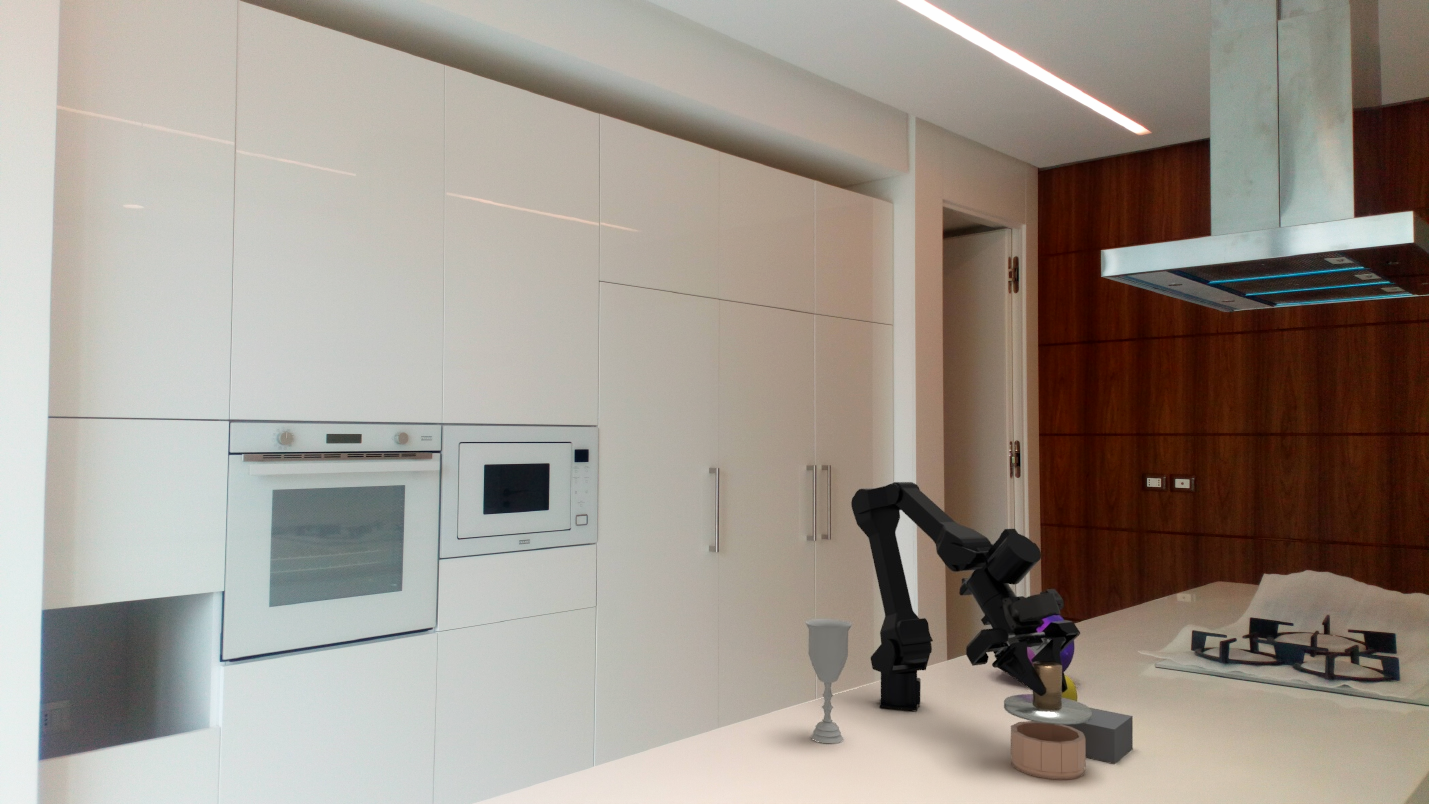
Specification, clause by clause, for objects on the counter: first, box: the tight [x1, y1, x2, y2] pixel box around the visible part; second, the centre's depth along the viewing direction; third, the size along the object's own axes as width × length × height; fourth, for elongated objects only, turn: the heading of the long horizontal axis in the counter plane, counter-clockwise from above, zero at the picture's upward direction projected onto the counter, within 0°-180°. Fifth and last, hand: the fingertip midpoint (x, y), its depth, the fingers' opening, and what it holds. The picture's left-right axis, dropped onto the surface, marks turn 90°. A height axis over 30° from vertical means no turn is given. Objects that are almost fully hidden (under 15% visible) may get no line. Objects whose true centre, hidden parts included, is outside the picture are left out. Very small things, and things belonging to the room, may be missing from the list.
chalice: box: [805, 618, 853, 744], centre depth 143 cm, size 7×7×18 cm
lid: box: [1003, 661, 1092, 725], centre depth 132 cm, size 12×12×7 cm
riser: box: [1066, 706, 1134, 765], centre depth 140 cm, size 9×9×5 cm
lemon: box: [1062, 674, 1078, 702], centre depth 155 cm, size 6×6×8 cm
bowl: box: [1010, 720, 1086, 780], centre depth 132 cm, size 10×10×5 cm
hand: (1054, 692), depth 131 cm, fingers closed on lid, 4 cm apart
